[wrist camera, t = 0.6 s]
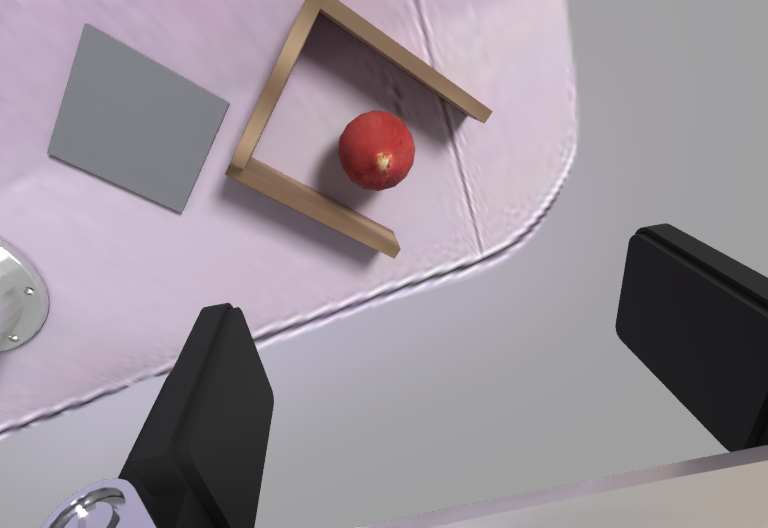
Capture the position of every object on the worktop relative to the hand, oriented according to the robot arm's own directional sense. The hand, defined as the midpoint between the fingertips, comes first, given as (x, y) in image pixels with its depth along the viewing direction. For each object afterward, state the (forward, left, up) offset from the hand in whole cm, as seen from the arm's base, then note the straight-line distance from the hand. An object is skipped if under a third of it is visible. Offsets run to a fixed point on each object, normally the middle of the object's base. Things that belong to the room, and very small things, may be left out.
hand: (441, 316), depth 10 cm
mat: (-8, +14, -28) cm, 32 cm away
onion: (0, -2, -28) cm, 28 cm away
